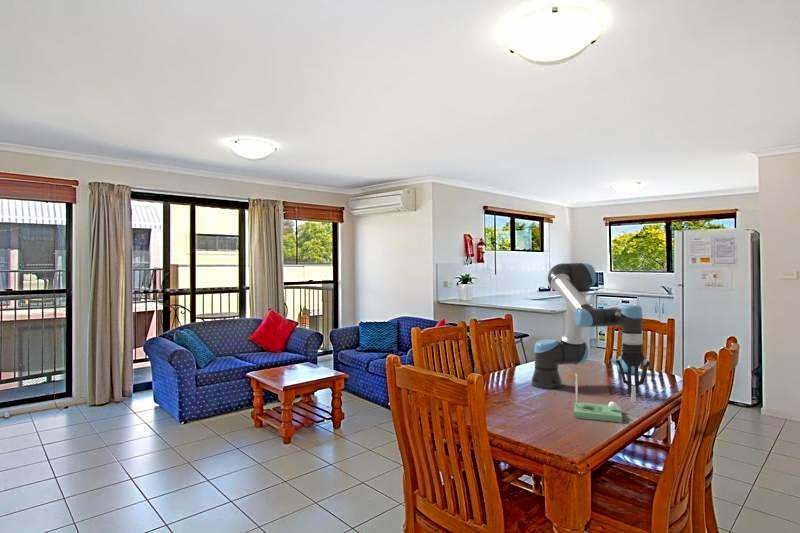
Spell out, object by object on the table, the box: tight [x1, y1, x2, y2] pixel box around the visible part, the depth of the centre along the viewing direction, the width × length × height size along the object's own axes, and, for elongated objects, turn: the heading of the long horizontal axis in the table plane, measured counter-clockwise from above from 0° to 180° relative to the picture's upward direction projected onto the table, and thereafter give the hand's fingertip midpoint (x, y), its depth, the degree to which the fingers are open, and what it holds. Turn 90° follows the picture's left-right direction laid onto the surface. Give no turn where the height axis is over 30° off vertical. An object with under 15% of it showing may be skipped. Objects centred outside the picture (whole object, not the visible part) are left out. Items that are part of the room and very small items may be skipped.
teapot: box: [610, 355, 645, 376], centre depth 268 cm, size 18×14×10 cm
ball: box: [607, 401, 619, 411], centre depth 192 cm, size 4×4×4 cm
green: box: [567, 372, 623, 423], centre depth 195 cm, size 21×14×16 cm
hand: (633, 401), depth 189 cm, fingers closed
